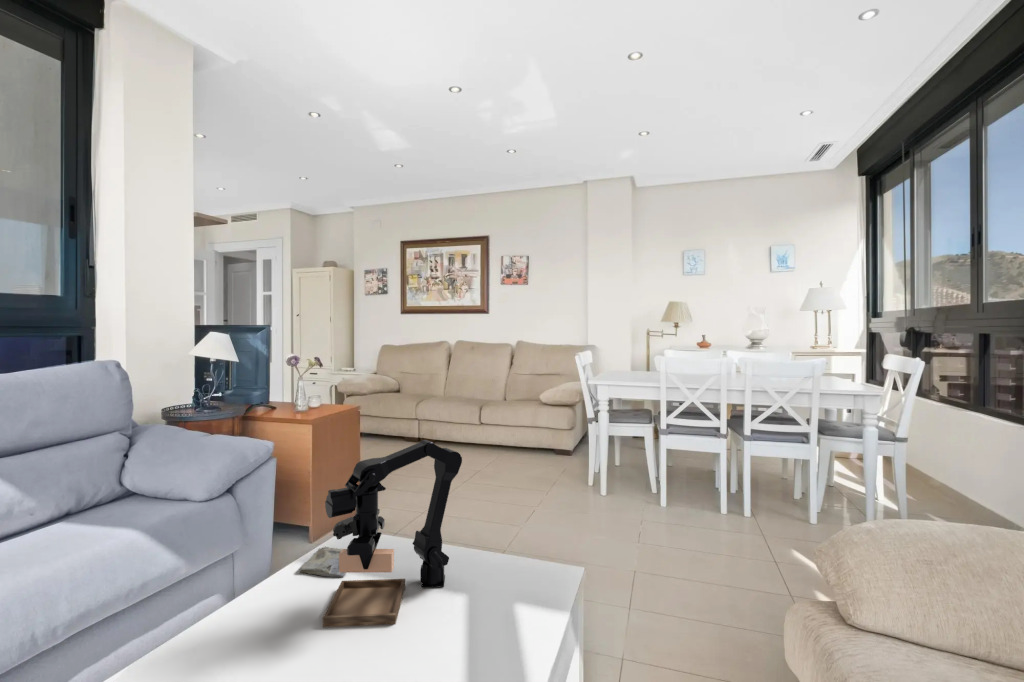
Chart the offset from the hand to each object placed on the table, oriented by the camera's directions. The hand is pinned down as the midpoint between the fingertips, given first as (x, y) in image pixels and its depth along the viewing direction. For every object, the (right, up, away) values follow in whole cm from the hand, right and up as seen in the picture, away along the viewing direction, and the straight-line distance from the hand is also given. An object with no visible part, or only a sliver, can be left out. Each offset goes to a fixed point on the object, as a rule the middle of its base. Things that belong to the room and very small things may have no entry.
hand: (367, 565), depth 132 cm
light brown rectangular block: (0, -1, 0) cm, 1 cm away
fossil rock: (-19, -11, +24) cm, 32 cm away
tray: (0, -11, 0) cm, 11 cm away
